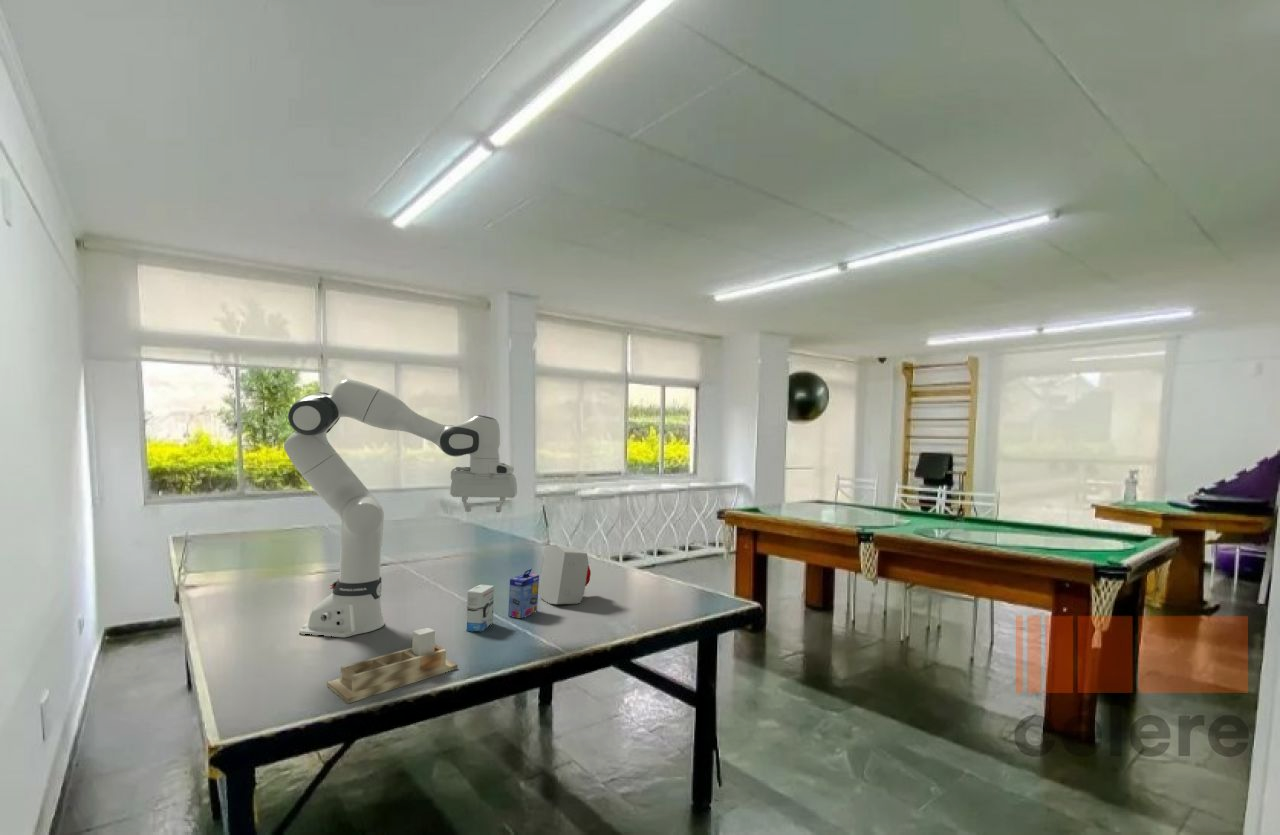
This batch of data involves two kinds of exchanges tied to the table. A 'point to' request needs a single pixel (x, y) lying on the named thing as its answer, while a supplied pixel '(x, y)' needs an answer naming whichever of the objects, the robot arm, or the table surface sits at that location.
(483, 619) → the ink box
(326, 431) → the robot arm
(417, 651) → the off-white tall block
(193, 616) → the table surface
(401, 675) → the rack
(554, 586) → the electrical switch box
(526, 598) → the ink cartridge box
